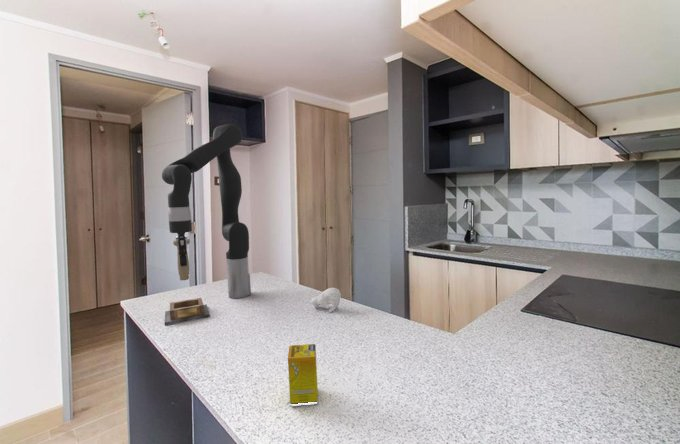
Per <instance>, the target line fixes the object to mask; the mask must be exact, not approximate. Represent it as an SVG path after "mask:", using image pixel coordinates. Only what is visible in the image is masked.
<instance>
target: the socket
mask: <svg viewBox="0 0 680 444" xmlns="http://www.w3.org/2000/svg"><path fill="white" fill-rule="evenodd" d="M209 310H210V309H209V307H208V305H207V304H204V303H203V299H202V297H199V298H198V297H196V298H192V299H186V300H180V301H179V300H178V301H174V302H169V310H166V311H165V313H164V326H170V325H174V324H179V323H185V322H190V321H195V320H201V319H206V318H210V317H211V315H210V311H209Z"/></svg>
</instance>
